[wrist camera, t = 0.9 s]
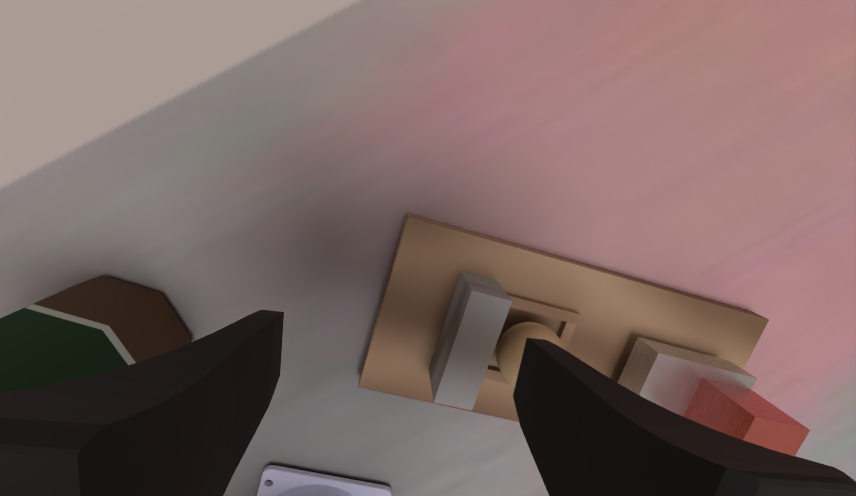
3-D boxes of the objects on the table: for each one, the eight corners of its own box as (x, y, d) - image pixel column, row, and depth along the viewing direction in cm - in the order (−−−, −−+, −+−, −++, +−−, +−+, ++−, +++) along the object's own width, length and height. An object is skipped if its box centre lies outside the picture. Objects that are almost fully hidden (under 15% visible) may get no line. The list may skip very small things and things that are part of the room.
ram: (696, 425, 24) (772, 495, 19) (607, 404, 23) (663, 472, 19) (729, 360, 23) (817, 417, 19) (638, 336, 22) (704, 389, 18)
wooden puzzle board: (682, 446, 27) (733, 499, 23) (360, 375, 24) (353, 422, 20) (751, 311, 25) (821, 343, 21) (407, 213, 22) (410, 228, 18)
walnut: (538, 374, 23) (562, 412, 20) (481, 360, 23) (496, 398, 20) (559, 319, 23) (588, 350, 19) (501, 304, 22) (521, 333, 19)
